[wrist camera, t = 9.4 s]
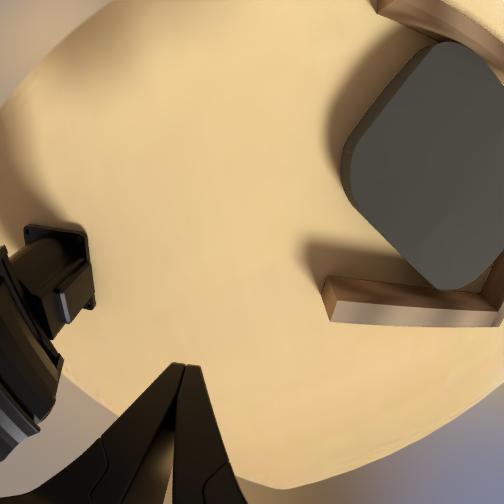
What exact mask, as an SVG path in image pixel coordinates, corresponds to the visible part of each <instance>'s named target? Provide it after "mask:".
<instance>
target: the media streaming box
mask: <svg viewBox="0 0 504 504" xmlns="http://www.w3.org/2000/svg"><path fill="white" fill-rule="evenodd" d="M341 179H342V184H343V187H344V191H345V193H346V196H347V197H348V199H349V201H350V203H351V204H352V206H353V207H354V208H355V209H356V210H357V211H358V212H359V213H360V214H361V215H362V216H363V217H364V218H365V219H366V220H367V221H368V222H369V223H370V224H371V225H372V226H373V227H374V228H375V229H376V230H377V231H378V232H379V233H380V234H381V235H382V236H383V237H384V238H385V239H386V240H387V241H388V242H389V243H390V244H391V245H392V246H393V247H394V248H395V249H396V250H397V251H398V252H399V253H400V254H401V255H402V256H403V257H404V258H405V259H406V260H407V261H408V262H409V263H410V264H411V265H412V266H413V267H414V268H415V269H416V270H417V271H418V272H419V273H420V274H421V275H422V276H423V277H424V278H425V279H426V280H427V281H428V282H429V283H431V284H432V285H433V286H434V287H435V288H436V289H438V290H441V291H452V290H456V289H459V288H462V287H464V286H466V285H468V284H470V283H471V282H473V281H474V280H476V279H477V278H478V277H479V276H480V275H481V274H482V273H483V272H484V271H485V270H486V269H487V268H488V267H489V266H490V265H491V264H492V263H493V262H494V261H495V259H496V258H497V257H498V256H499V255H500V253H501V252H502V251H503V250H504V86H503V84H502V83H501V82H500V80H499V79H498V78H497V76H496V75H495V74H494V72H493V71H492V70H491V69H490V68H489V66H488V65H487V64H486V63H485V62H484V61H483V60H482V58H481V57H480V56H478V55H477V54H476V53H475V52H473V51H472V50H470V49H469V48H467V47H465V46H463V45H461V44H458V43H454V42H441V43H438V44H435V45H432V46H429V47H426V48H424V49H422V50H420V51H419V52H418V53H417V54H416V55H415V56H414V57H413V58H412V59H411V60H410V61H409V62H408V63H407V64H406V65H405V66H404V68H403V69H402V70H401V71H400V72H399V73H398V74H397V75H396V77H395V78H394V79H393V80H392V81H391V83H390V84H389V85H388V86H387V87H386V89H385V90H384V91H383V92H382V94H381V95H380V96H379V97H378V99H377V100H376V101H375V102H374V104H373V105H372V106H371V108H370V109H369V110H368V112H367V113H366V114H365V116H364V117H363V118H362V120H361V121H360V122H359V124H358V125H357V127H356V128H355V129H354V131H353V132H352V134H351V135H350V136H349V138H348V139H347V141H346V144H345V146H344V149H343V153H342V158H341Z"/></svg>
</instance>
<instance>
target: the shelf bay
mask: <svg viewBox="0 0 504 504" xmlns="http://www.w3.org/2000/svg"><path fill="white" fill-rule="evenodd" d="M377 14H379V15H382V16H384V17H387V18H389V19H392V20H394V21H397V22H399V23H401V24H404V25H406V26H408V27H410V28H413V29H415V30H417V31H419V32H421V33H423V34H425V35H427V36H429V37H431V38H433V39H435V40H437V41H439V42H440V43H441V42H454V43H458V44H461V45H463V46H465V47H467V48H469V49H470V50H472V51H473V52H475V53H476V54H477V55H478V56H480V57H481V58H482V60H483V61H484V62H485V63H486V64H487V65H488V66H489V68H490V69H491V70H492V71H493V72H494V74H495V75H496V76H497V78H498V79H499V80H500V81H501V82H502V83H503V84H504V44H503V43H502V42H501V41H499V40H498V39H497V38H496V37H494V36H493V35H492V34H490V33H489V32H488V31H486V30H485V29H484V28H482V27H481V26H479V25H478V24H477V23H475V22H474V21H472V20H471V19H469V18H468V17H466V16H465V15H463V14H462V13H460V12H459V11H457V10H455V9H454V8H452V7H450V6H449V5H447V4H445V3H444V2H442V1H440V0H378V8H377ZM321 297H322V300H323V303H324V305H325V308H326V311H327V314H328V317H329V320H330V322H339V323H352V324H367V325H385V326H409V327H499V326H500V324H501V323H502V321H503V319H504V250H503V251H502V252H501V253H500V255H499V256H498V257H497V258H496V260H495V263H494V265H493V268H492V270H491V273H490V275H489V277H488V280H487V282H486V284H485V286H484V288H483V291H482V293H481V294H479V293H469V292H460V291H441V290H438V289H433V288H425V287H416V286H407V285H399V284H391V283H382V282H374V281H366V280H358V279H350V278H342V277H334V276H327V278H326V281H325V284H324V288H323V291H322V294H321Z"/></svg>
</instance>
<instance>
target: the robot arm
mask: <svg viewBox="0 0 504 504" xmlns="http://www.w3.org/2000/svg"><path fill="white" fill-rule="evenodd" d="M79 237H80V238H81V239H82V241H81V240H80V238H79ZM24 238H25V244H26V246H25V247H23V248H22V249H20V250H19V251H18V252H16V253H15V254H14V255H12V256H11V257H9V258H8V255H7V254H8V252H7V249H6V246H5V245H2V246H0V462H1V461H3V460H4V459H5V458H6V457H7V456H8V454H9V453H10V452H11V451H12V450H13V449H14V448H15V447H16V446H17V445H18V444H19V443H20V442H21V441H23V440H24V439H26V438H27V437H29V436H32V435H34V434H36V433H39V432H40V427H39V426H38V425H37V424H39V423H41V422H42V421H43V420H44V419H45V418H46V417H47V416H48V415H49V413H50V412H51V410H52V408H53V406H54V405H55V401H56V398H55V397H56V392H57V387H58V383H59V379H60V375H61V371H62V367H63V363H64V359H63V358H62V356H61V355H60V353H58V352H57V350H56V349H55V347H54V346H53V344H52V342H51V341H50V340H53V339H54V338H55V337H56V335H57V334H58V333H59V331H60V330H61V329H62V327H63V326H64V325H65V324H70V323H71V322H72V321H73V320H74V318H75V317H76V316H77V314H78V313H79V312H80V310H81V309H82V308H83V309H87V310H93V309H94V307H95V306H96V301H95V295H94V293H95V289H94V282H93V275H92V267H91V263H90V257H89V247H88V238H87V236H86V234H85V233H83V232H79V231H72V230H65V229H59V228H52V227H45V226H38V225H32V224H28V225H26V226H25V227H24ZM89 303H90V304H91V305H90V304H89ZM172 466H173V488H172V491H173V492H172V495H173V496H172V504H248V502H247V500H246V498H245V497H244V495H243V493H242V491H241V489H240V487H239V484H238V482H237V479H236V477H235V475H234V472H233V469H232V466H231V463H230V462H229V458H228V455H227V452H226V449H225V446H224V443H223V440H222V437H221V434H220V431H219V428H218V425H217V421H216V418H215V415H214V412H213V408H212V405H211V402H210V398H209V395H208V391H207V388H206V384H205V381H204V377H203V373H202V370H201V367H200V366H199V365H191V364H188V365H187V366H186V365H185V364H183V363H176V362H173V363H171V364H170V365H169V366H168V367H167V368H166V369H165V370H164V371H163V372H162V373H161V374H160V375H159V377H158V378H157V379H156V380H155V381H154V382H153V383H152V384H151V385H150V386H149V387H148V388H147V389H146V390H145V391H144V392H143V393H142V394H141V395H140V396H139V397H138V398H137V399H136V400H135V402H134V403H133V404H132V405H131V406H130V407H129V408H128V409H127V410H126V411H125V412H124V413H123V414H122V415H121V416H120V417H119V418H118V419H117V420H116V421H115V422H114V423H113V424H112V425H111V426H110V427H109V428H108V429H107V430H106V431H105V432H104V433H103V434H102V435H101V438H98V439H97V440H96V441H95V442H94V443H93V444H92V445H91V446H90V447H89V448H88V449H87V450H86V451H85V452H84V453H83V454H82V455H81V456H79V457H78V458H77V459H76V460H75V461H73V462H72V463H71V464H70V465H68V466H67V467H66V468H64V469H63V470H62V471H60V472H59V473H57V474H56V475H55V476H53V477H52V478H51V479H49V480H48V481H46V482H45V483H44V484H42V485H41V486H39V487H38V488H36V489H34V490H32V491H30V492H28V493H25V494H22V495H17V496H10V497H3V498H0V504H163V502H164V498H165V494H166V490H167V486H168V482H169V478H170V474H171V470H172Z"/></svg>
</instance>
